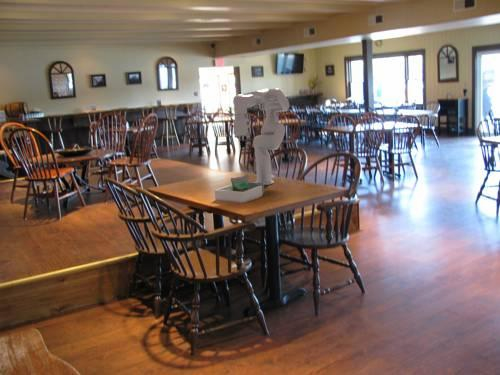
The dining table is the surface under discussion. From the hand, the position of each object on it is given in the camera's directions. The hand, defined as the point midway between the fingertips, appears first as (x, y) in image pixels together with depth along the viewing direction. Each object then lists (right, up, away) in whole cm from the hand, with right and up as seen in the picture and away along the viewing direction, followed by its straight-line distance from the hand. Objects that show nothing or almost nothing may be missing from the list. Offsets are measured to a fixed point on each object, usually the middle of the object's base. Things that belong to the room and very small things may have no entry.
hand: (242, 147), depth 310 cm
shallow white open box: (-2, -30, -13) cm, 33 cm away
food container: (0, -28, -13) cm, 31 cm away
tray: (-1, -29, -12) cm, 31 cm away
